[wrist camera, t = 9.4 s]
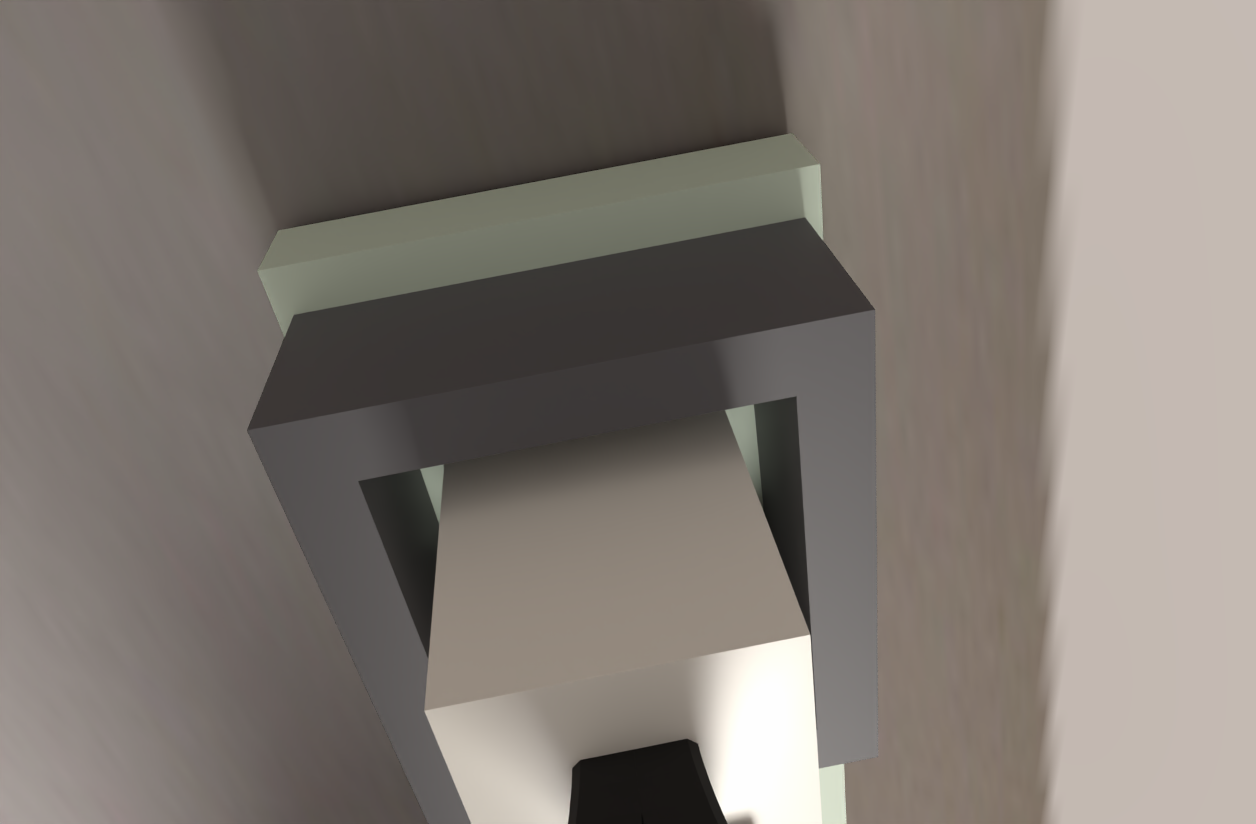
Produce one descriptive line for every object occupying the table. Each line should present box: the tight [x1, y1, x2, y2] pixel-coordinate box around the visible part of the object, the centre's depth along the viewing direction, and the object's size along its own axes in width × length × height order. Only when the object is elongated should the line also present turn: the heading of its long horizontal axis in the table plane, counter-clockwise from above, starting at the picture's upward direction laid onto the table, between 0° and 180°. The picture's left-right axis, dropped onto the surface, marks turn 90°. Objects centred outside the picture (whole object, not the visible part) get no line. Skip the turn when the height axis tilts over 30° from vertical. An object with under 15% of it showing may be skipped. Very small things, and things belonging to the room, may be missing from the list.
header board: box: [247, 133, 878, 824], centre depth 18 cm, size 20×8×4 cm, turn 9°
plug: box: [424, 410, 822, 824], centre depth 13 cm, size 5×4×6 cm
